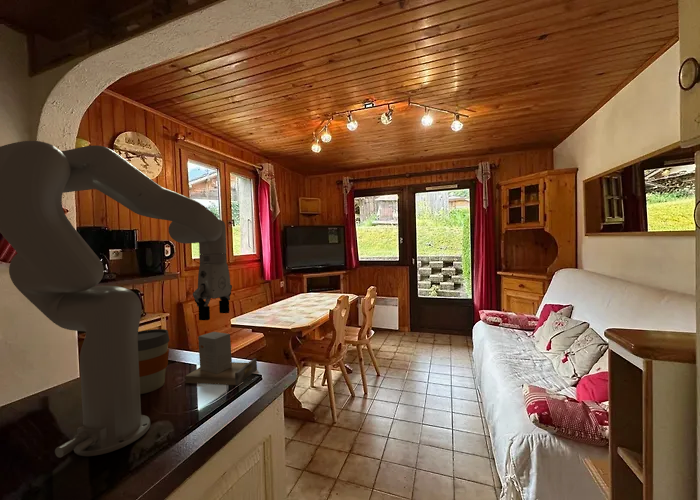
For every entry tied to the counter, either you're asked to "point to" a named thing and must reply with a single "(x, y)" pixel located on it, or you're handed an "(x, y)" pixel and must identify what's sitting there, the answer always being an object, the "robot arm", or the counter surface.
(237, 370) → the shelf board
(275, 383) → the counter surface
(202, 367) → the small box
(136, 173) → the robot arm
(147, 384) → the reusable coffee cup
